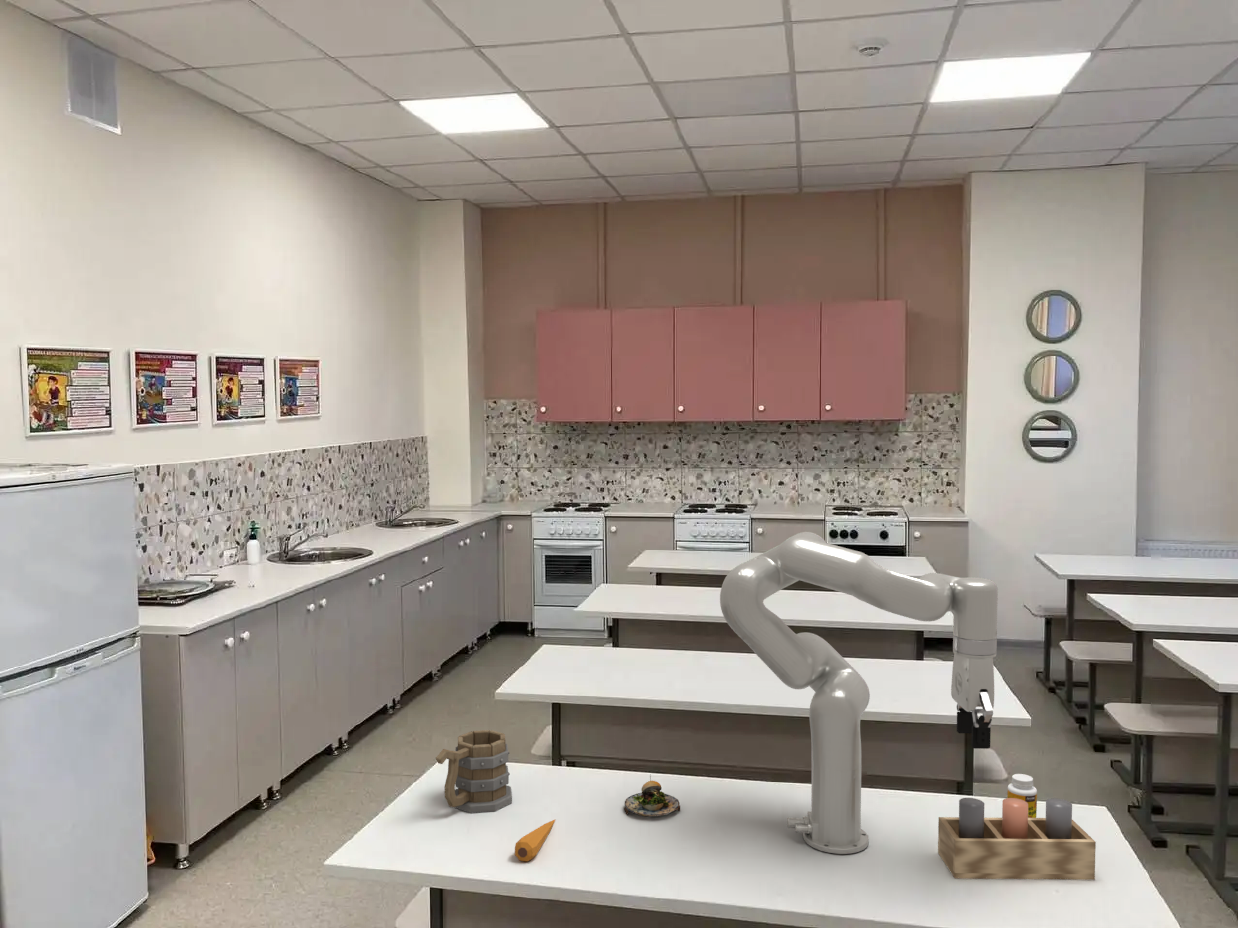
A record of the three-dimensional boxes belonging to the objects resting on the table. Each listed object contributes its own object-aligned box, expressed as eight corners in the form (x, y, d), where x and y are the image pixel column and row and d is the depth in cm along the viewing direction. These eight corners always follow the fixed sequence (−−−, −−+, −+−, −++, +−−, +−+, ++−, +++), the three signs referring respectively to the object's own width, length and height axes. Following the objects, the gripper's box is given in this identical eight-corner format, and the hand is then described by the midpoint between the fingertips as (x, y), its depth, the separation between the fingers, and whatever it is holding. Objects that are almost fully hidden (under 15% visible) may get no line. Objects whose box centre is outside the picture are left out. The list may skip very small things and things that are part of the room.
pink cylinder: (1007, 844, 176) (1007, 807, 175) (998, 834, 180) (998, 797, 180) (1031, 844, 176) (1032, 807, 175) (1021, 834, 180) (1022, 797, 180)
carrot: (528, 869, 179) (537, 847, 179) (507, 857, 181) (516, 835, 180) (561, 833, 199) (569, 814, 198) (542, 823, 200) (550, 804, 200)
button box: (955, 878, 174) (955, 840, 173) (937, 852, 183) (938, 816, 183) (1094, 879, 173) (1095, 841, 172) (1070, 853, 183) (1070, 817, 182)
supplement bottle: (1025, 834, 191) (1026, 784, 190) (1000, 824, 196) (1001, 775, 195) (1042, 827, 194) (1043, 778, 194) (1017, 818, 199) (1018, 769, 198)
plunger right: (1051, 845, 176) (1052, 807, 175) (1041, 834, 180) (1042, 798, 180) (1075, 845, 175) (1076, 807, 175) (1064, 834, 180) (1065, 798, 179)
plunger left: (963, 844, 176) (963, 807, 176) (955, 833, 180) (955, 797, 180) (987, 844, 176) (988, 807, 175) (978, 833, 180) (979, 797, 180)
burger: (618, 819, 199) (618, 784, 199) (630, 797, 211) (630, 764, 210) (675, 825, 197) (675, 789, 196) (684, 801, 208) (684, 768, 208)
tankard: (481, 784, 218) (480, 719, 217) (523, 797, 210) (522, 730, 209) (415, 815, 201) (413, 745, 200) (457, 830, 194) (456, 757, 193)
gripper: (939, 634, 185) (937, 724, 186) (970, 657, 167) (968, 757, 168) (978, 634, 185) (976, 724, 186) (1013, 658, 167) (1011, 757, 168)
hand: (973, 739), depth 177 cm, fingers open, 7 cm apart
